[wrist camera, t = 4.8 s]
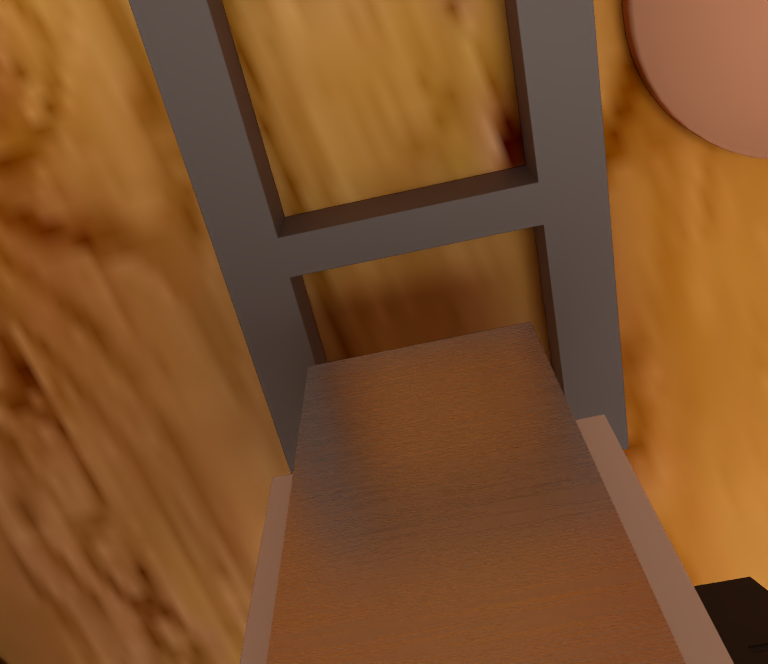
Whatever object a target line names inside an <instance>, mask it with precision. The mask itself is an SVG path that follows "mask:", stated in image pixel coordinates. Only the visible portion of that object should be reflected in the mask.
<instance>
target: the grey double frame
mask: <svg viewBox="0 0 768 664" xmlns="http://www.w3.org/2000/svg"><path fill="white" fill-rule="evenodd" d="M129 3H130V6H131V9H132V12H133V14H134V17H135V20H136V23H137V26H138V29H139V32H140V35H141V38H142V41H143V44H144V46H145V49H146V52H147V55H148V58H149V61H150V64H151V67H152V70H153V73H154V76H155V78H156V81H157V84H158V87H159V90H160V93H161V96H162V99H163V102H164V105H165V108H166V110H167V113H168V116H169V119H170V122H171V125H172V128H173V131H174V134H175V137H176V140H177V142H178V145H179V148H180V151H181V154H182V157H183V160H184V163H185V166H186V169H187V172H188V174H189V177H190V180H191V183H192V186H193V189H194V192H195V195H196V198H197V201H198V204H199V206H200V209H201V212H202V215H203V218H204V221H205V224H206V227H207V230H208V233H209V236H210V238H211V241H212V244H213V247H214V250H215V253H216V256H217V259H218V262H219V265H220V268H221V270H222V273H223V276H224V279H225V282H226V285H227V288H228V291H229V294H230V297H231V300H232V302H233V305H234V308H235V311H236V314H237V317H238V320H239V323H240V326H241V329H242V332H243V334H244V337H245V340H246V343H247V346H248V349H249V352H250V355H251V358H252V361H253V364H254V366H255V369H256V372H257V375H258V378H259V381H260V384H261V387H262V390H263V393H264V396H265V398H266V401H267V404H268V407H269V410H270V413H271V416H272V419H273V422H274V425H275V428H276V430H277V433H278V436H279V439H280V442H281V445H282V448H283V451H284V454H285V457H286V460H287V462H288V465H289V468H290V471H291V474H293V471H294V463H295V456H296V449H297V442H298V435H299V428H300V421H301V414H302V407H303V400H304V392H305V385H306V378H307V371H308V366H313V365H318V364H323V363H327V361H326V358H325V354H324V351H323V347H322V344H321V340H320V337H319V333H318V330H317V327H316V323H315V320H314V316H313V313H312V309H311V306H310V303H309V299H308V296H307V292H306V289H305V285H304V282H303V278H302V275H304V274H309V273H314V272H319V271H323V270H328V269H333V268H338V267H343V266H347V265H352V264H357V263H362V262H367V261H371V260H376V259H381V258H386V257H391V256H395V255H400V254H405V253H410V252H415V251H419V250H424V249H429V248H434V247H438V246H443V245H448V244H453V243H458V242H462V241H467V240H472V239H477V238H482V237H486V236H491V235H496V234H501V233H506V232H510V231H515V230H520V229H525V228H530V227H534V230H535V238H536V245H537V253H538V261H539V268H540V276H541V284H542V292H543V299H544V307H545V315H546V322H547V330H548V338H549V346H550V353H551V361H552V369H553V372H554V374H555V376H556V378H557V381H558V383H559V385H560V387H561V389H562V392H563V394H564V396H565V398H566V400H567V403H568V405H569V407H570V409H571V411H572V414H573V416H574V418H575V420H578V419H583V418H589V417H594V416H599V415H605V417H606V418H607V420H608V422H609V424H610V426H611V428H612V430H613V432H614V434H615V436H616V438H617V440H618V442H619V443H620V445H621V447H622V449H629V446H628V433H627V421H626V408H625V395H624V383H623V370H622V358H621V345H620V332H619V320H618V307H617V295H616V282H615V269H614V257H613V244H612V232H611V219H610V206H609V194H608V181H607V169H606V156H605V143H604V131H603V118H602V106H601V93H600V80H599V68H598V55H597V43H596V30H595V18H594V5H593V0H505V6H506V14H507V22H508V30H509V37H510V45H511V53H512V60H513V68H514V76H515V83H516V91H517V99H518V107H519V114H520V122H521V130H522V137H523V145H524V153H525V161H526V165H525V166H520V167H516V168H511V169H506V170H502V171H497V172H492V173H488V174H483V175H479V176H474V177H469V178H465V179H460V180H455V181H451V182H446V183H442V184H437V185H432V186H428V187H423V188H418V189H414V190H409V191H404V192H400V193H395V194H391V195H386V196H381V197H377V198H372V199H367V200H363V201H358V202H354V203H349V204H344V205H340V206H335V207H330V208H326V209H321V210H316V211H312V212H307V213H303V214H298V215H293V216H289V217H284V213H283V210H282V206H281V203H280V199H279V196H278V192H277V189H276V186H275V182H274V179H273V175H272V172H271V168H270V165H269V162H268V158H267V155H266V151H265V148H264V144H263V141H262V137H261V134H260V131H259V127H258V124H257V120H256V117H255V113H254V110H253V107H252V103H251V100H250V96H249V93H248V89H247V86H246V82H245V79H244V76H243V72H242V69H241V65H240V62H239V58H238V55H237V52H236V48H235V45H234V41H233V38H232V34H231V31H230V27H229V24H228V21H227V17H226V14H225V10H224V7H223V3H222V0H129Z"/></svg>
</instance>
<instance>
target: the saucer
mask: <svg viewBox="0 0 768 664" xmlns="http://www.w3.org/2000/svg"><path fill="white" fill-rule="evenodd" d="M622 9H623V17H624V25H625V33H626V37H627V40H628V44H629V48H630V52H631V55H632V58H633V60H634V63H635V65H636V67H637V70H638V72H639V75H640V77H641V78H642V80H643V82H644V83H645V85H646V87H647V88H648V90H649V92H650V93H651V95H652V96H653V97H654V98H655V100H656V101H657V102H658V103H659V104H660V106H661V107H662V108H663V109H664V110H665V111H666V112H667V113H668V114H669V115H670V116H671V117H672V118H674V119H675V120H676V121H677V122H678V123H679V124H680V125H682V126H684V127H685V128H687V129H688V130H690V131H692V132H693V133H695V134H696V135H698V136H700V137H701V138H703V139H705V140H707V141H709V142H710V143H712V144H715V145H717V146H719V147H722V148H724V149H726V150H729V151H731V152H735V153H739V154H742V155H746V156H750V157H756V158H765V159H768V0H622Z"/></svg>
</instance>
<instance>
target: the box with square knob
mask: <svg viewBox="0 0 768 664" xmlns="http://www.w3.org/2000/svg"><path fill="white" fill-rule="evenodd" d="M266 664H686V663H685V661H684V659H683V657H682V654H681V652H680V650H679V648H678V646H677V643H676V641H675V639H674V637H673V635H672V632H671V630H670V628H669V626H668V624H667V621H666V619H665V617H664V615H663V613H662V610H661V608H660V606H659V604H658V601H657V599H656V597H655V595H654V593H653V590H652V588H651V586H650V584H649V582H648V579H647V577H646V575H645V573H644V571H643V568H642V566H641V564H640V562H639V559H638V557H637V555H636V553H635V551H634V548H633V546H632V544H631V542H630V540H629V537H628V535H627V533H626V531H625V529H624V526H623V524H622V522H621V520H620V518H619V515H618V513H617V511H616V509H615V506H614V504H613V502H612V500H611V498H610V495H609V493H608V491H607V489H606V487H605V484H604V482H603V480H602V478H601V476H600V473H599V471H598V469H597V467H596V464H595V462H594V460H593V458H592V456H591V453H590V451H589V449H588V447H587V445H586V442H585V440H584V438H583V436H582V434H581V431H580V429H579V427H578V425H577V423H576V420H575V418H574V416H573V414H572V411H571V409H570V407H569V405H568V403H567V400H566V398H565V396H564V394H563V392H562V389H561V387H560V385H559V383H558V381H557V378H556V376H555V374H554V372H553V369H552V367H551V365H550V363H549V361H548V358H547V356H546V354H545V352H544V350H543V347H542V345H541V343H540V341H539V339H538V336H537V334H536V332H535V330H534V328H533V325H532V323H531V322H527V323H522V324H517V325H512V326H507V327H502V328H497V329H492V330H487V331H482V332H477V333H472V334H467V335H462V336H457V337H452V338H447V339H442V340H437V341H433V342H428V343H423V344H418V345H413V346H408V347H403V348H398V349H393V350H388V351H383V352H378V353H373V354H368V355H363V356H358V357H353V358H348V359H343V360H338V361H333V362H328V363H323V364H318V365H313V366H308V371H307V378H306V385H305V392H304V400H303V407H302V414H301V421H300V428H299V435H298V442H297V449H296V456H295V463H294V471H293V478H292V485H291V492H290V499H289V506H288V513H287V520H286V527H285V535H284V542H283V549H282V556H281V563H280V570H279V577H278V584H277V591H276V598H275V606H274V613H273V620H272V627H271V634H270V641H269V648H268V655H267V662H266Z"/></svg>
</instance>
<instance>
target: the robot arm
mask: <svg viewBox="0 0 768 664" xmlns="http://www.w3.org/2000/svg"><path fill="white" fill-rule="evenodd" d="M576 423H577V425H578V427H579V429H580V431H581V434H582V436H583V438H584V440H585V442H586V445H587V447H588V449H589V451H590V453H591V456H592V458H593V460H594V462H595V464H596V467H597V469H598V471H599V473H600V476H601V478H602V480H603V482H604V484H605V487H606V489H607V491H608V493H609V495H610V498H611V500H612V502H613V504H614V506H615V509H616V511H617V513H618V515H619V518H620V520H621V522H622V524H623V526H624V529H625V531H626V533H627V535H628V537H629V540H630V542H631V544H632V546H633V548H634V551H635V553H636V555H637V557H638V559H639V562H640V564H641V566H642V568H643V571H644V573H645V575H646V577H647V579H648V582H649V584H650V586H651V588H652V590H653V593H654V595H655V597H656V599H657V601H658V604H659V606H660V608H661V610H662V613H663V615H664V617H665V619H666V621H667V624H668V626H669V628H670V630H671V632H672V635H673V637H674V639H675V641H676V643H677V646H678V648H679V650H680V652H681V654H682V657H683V659H684V661H685V663H686V664H768V590H766V589H765V588H764V587H762V586H761V585H760V584H759V583H757V582H756V581H755V580H754V579H752V578H751V577H746V578H740V579H734V580H728V581H722V582H716V583H710V584H705V585H699V586H693V584H692V582H691V580H690V578H689V576H688V574H687V572H686V571H685V569H684V567H683V565H682V563H681V561H680V559H679V557H678V555H677V553H676V551H675V549H674V547H673V545H672V544H671V542H670V540H669V538H668V536H667V534H666V532H665V530H664V528H663V526H662V524H661V522H660V520H659V519H658V517H657V515H656V513H655V511H654V509H653V507H652V505H651V503H650V501H649V499H648V497H647V495H646V494H645V492H644V490H643V488H642V486H641V484H640V482H639V480H638V478H637V476H636V474H635V472H634V470H633V468H632V467H631V465H630V463H629V461H628V459H627V457H626V455H625V453H624V451H623V449H622V447H621V445H620V443H619V442H618V440H617V438H616V436H615V434H614V432H613V430H612V428H611V426H610V424H609V422H608V420H607V418H606V417H605V415H599V416H594V417H589V418H583V419H578V420H576ZM292 478H293V474H290V475H284V476H279V477H274V478H272V484H271V490H270V495H269V501H268V507H267V512H266V518H265V524H264V529H263V535H262V541H261V546H260V552H259V558H258V563H257V569H256V575H255V580H254V586H253V591H252V597H251V603H250V608H249V614H248V620H247V625H246V631H245V637H244V642H243V648H242V654H241V659H240V664H266V662H267V655H268V648H269V641H270V634H271V627H272V620H273V613H274V606H275V598H276V591H277V584H278V577H279V570H280V563H281V556H282V549H283V542H284V535H285V527H286V520H287V513H288V506H289V499H290V492H291V485H292Z"/></svg>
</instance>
